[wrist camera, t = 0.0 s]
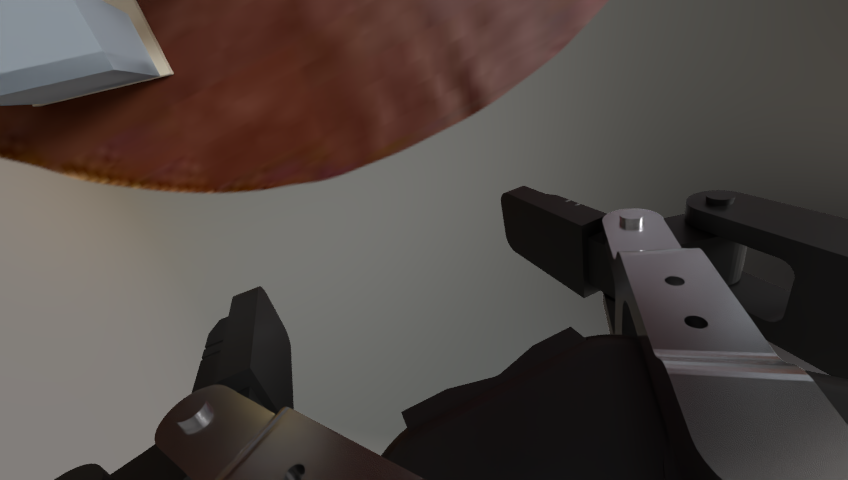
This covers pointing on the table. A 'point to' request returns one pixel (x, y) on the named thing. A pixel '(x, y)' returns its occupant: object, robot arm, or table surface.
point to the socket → (67, 50)
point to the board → (129, 5)
